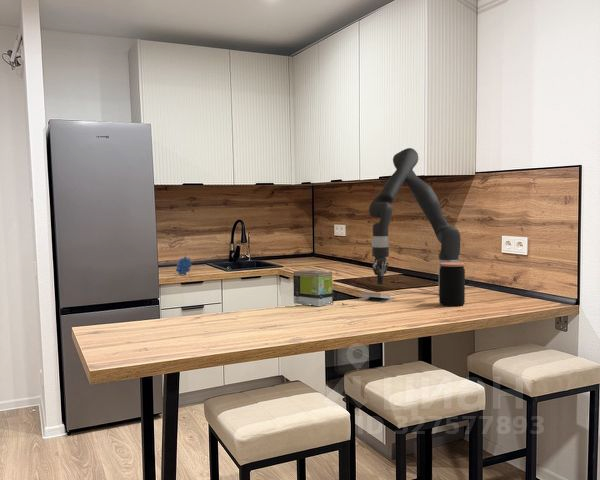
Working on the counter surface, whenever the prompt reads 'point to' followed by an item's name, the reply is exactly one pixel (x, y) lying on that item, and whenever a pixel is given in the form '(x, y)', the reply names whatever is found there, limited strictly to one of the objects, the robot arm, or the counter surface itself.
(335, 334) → the counter surface
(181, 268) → the grapes
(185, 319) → the counter surface
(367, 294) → the tile
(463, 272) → the coffee jar
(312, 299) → the tea box
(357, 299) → the slate board
